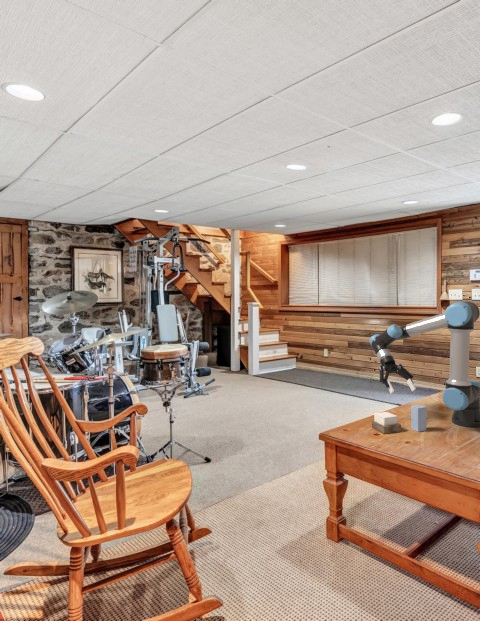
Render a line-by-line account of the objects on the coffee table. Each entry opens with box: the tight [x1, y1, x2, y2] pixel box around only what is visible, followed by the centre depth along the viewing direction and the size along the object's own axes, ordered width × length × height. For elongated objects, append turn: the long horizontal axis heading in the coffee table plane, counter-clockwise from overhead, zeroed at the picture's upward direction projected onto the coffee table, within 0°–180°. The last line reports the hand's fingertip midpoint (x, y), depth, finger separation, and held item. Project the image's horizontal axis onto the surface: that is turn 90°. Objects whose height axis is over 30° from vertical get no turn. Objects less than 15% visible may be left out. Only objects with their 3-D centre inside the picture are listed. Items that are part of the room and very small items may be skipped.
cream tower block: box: [373, 411, 399, 426], centre depth 212 cm, size 8×8×4 cm
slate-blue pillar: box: [410, 404, 427, 432], centre depth 210 cm, size 5×5×12 cm
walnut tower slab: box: [371, 420, 402, 435], centre depth 211 cm, size 10×10×4 cm
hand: (403, 391), depth 220 cm, fingers open, 13 cm apart
